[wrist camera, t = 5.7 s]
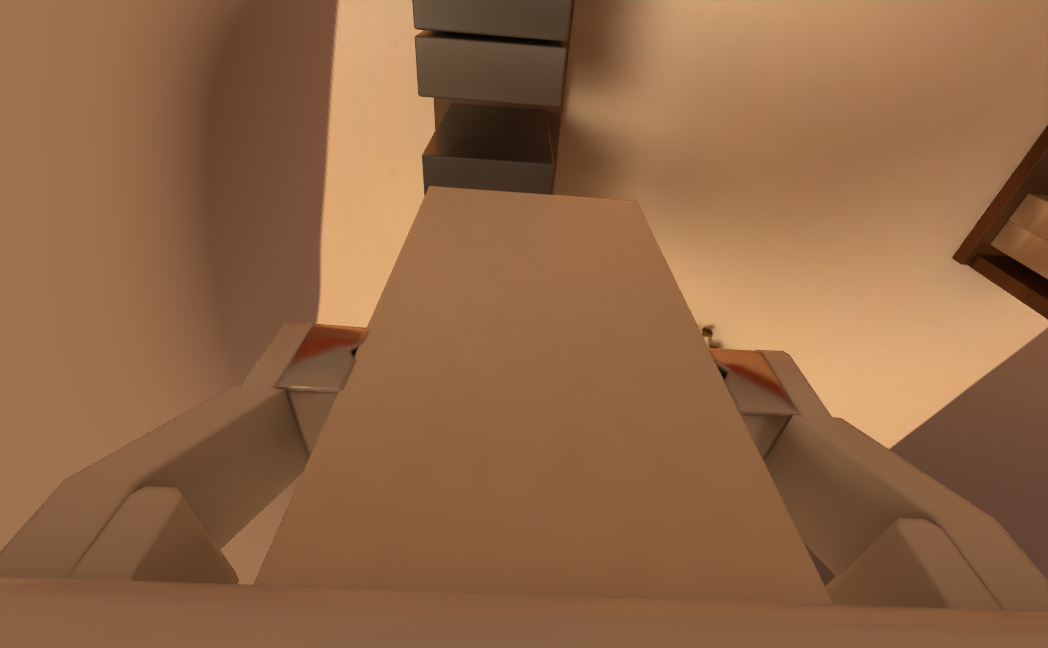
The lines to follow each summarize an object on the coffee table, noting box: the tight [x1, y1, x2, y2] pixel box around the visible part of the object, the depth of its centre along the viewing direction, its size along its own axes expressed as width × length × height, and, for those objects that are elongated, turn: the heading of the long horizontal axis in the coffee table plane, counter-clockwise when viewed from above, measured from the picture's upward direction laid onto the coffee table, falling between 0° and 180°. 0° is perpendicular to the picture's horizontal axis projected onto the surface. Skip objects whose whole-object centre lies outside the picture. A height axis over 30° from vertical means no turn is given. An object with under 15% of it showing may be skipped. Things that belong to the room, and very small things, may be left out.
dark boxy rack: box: [412, 0, 575, 195], centre depth 25 cm, size 14×8×11 cm, turn 176°
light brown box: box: [254, 186, 833, 604], centre depth 9 cm, size 2×6×13 cm, turn 86°
